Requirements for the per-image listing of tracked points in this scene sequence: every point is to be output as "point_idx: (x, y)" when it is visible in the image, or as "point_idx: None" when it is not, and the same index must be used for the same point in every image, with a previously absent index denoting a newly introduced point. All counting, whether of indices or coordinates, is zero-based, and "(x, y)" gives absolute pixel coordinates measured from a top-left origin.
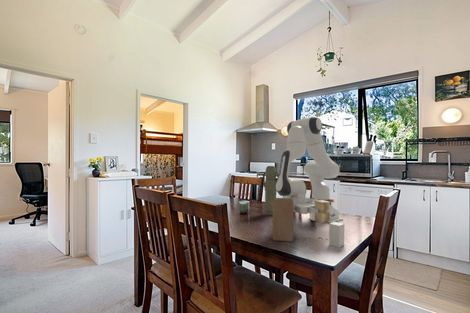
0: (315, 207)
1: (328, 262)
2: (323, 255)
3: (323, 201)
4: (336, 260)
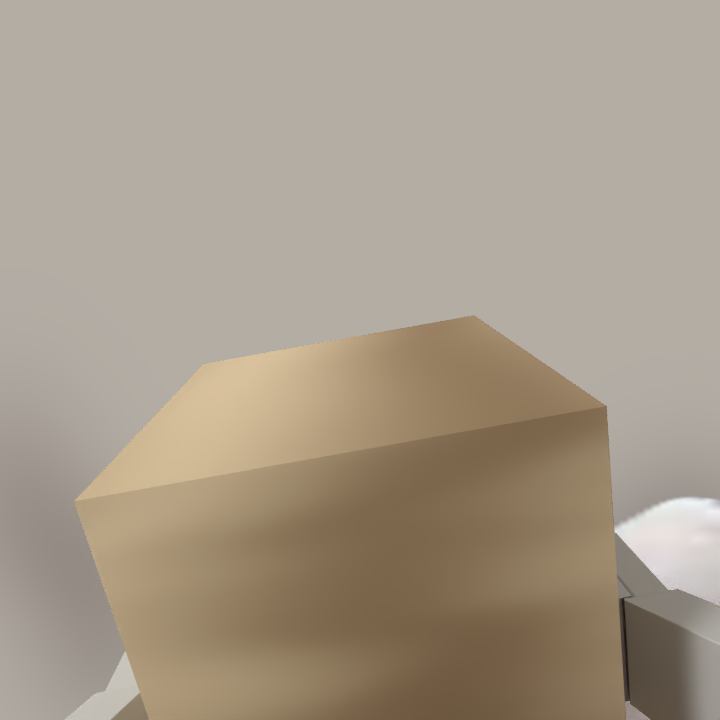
0: (598, 650)
1: (698, 516)
2: (705, 597)
3: (328, 364)
4: (626, 532)
